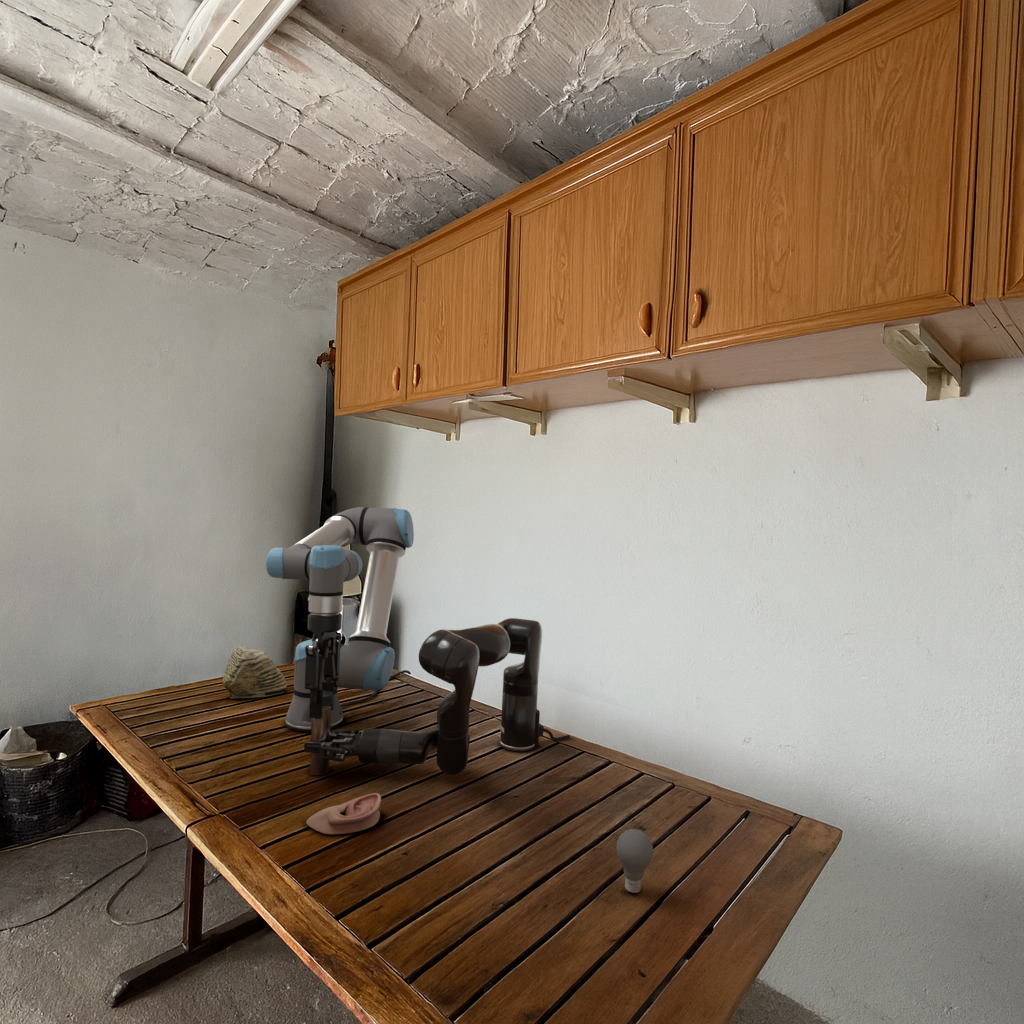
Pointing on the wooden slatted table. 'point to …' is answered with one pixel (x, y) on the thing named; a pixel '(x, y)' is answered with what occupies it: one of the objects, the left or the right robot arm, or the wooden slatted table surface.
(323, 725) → the dark brown cylindrical piece
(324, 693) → the lid
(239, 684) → the fossil
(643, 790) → the wooden slatted table surface
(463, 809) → the wooden slatted table surface
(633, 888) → the light bulb
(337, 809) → the anatomical model
